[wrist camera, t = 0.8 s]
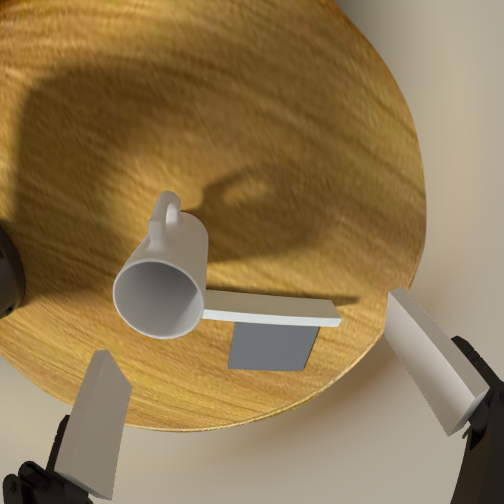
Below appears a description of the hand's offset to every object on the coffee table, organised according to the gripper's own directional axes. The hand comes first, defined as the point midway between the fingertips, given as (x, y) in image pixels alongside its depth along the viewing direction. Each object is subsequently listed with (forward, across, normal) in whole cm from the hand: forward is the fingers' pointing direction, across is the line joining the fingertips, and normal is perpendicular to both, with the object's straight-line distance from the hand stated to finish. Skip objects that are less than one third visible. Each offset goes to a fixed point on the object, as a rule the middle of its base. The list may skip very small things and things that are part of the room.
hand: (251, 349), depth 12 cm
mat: (+19, +2, -18) cm, 26 cm away
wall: (+19, -1, -10) cm, 22 cm away
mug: (+20, -6, 0) cm, 20 cm away
